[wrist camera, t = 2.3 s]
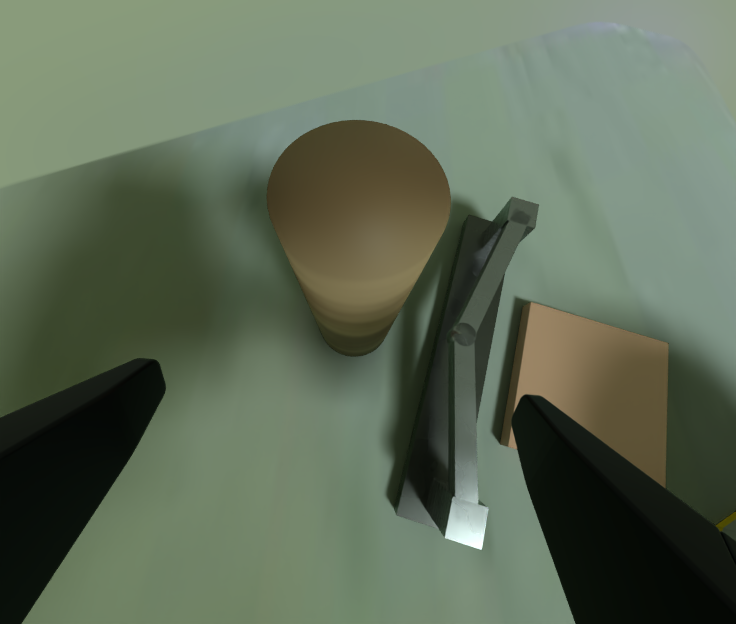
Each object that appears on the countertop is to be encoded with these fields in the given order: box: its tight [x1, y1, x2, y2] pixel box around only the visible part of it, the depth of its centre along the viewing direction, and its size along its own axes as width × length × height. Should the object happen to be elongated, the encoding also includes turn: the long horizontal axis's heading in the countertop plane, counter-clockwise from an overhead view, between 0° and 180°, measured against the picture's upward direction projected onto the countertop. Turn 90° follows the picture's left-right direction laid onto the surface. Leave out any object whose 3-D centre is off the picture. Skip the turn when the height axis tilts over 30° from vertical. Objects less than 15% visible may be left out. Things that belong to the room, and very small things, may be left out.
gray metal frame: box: [394, 197, 539, 550], centre depth 17 cm, size 19×3×4 cm, turn 163°
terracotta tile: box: [500, 302, 669, 488], centre depth 19 cm, size 9×9×1 cm
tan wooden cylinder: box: [267, 120, 451, 356], centre depth 14 cm, size 4×4×13 cm
